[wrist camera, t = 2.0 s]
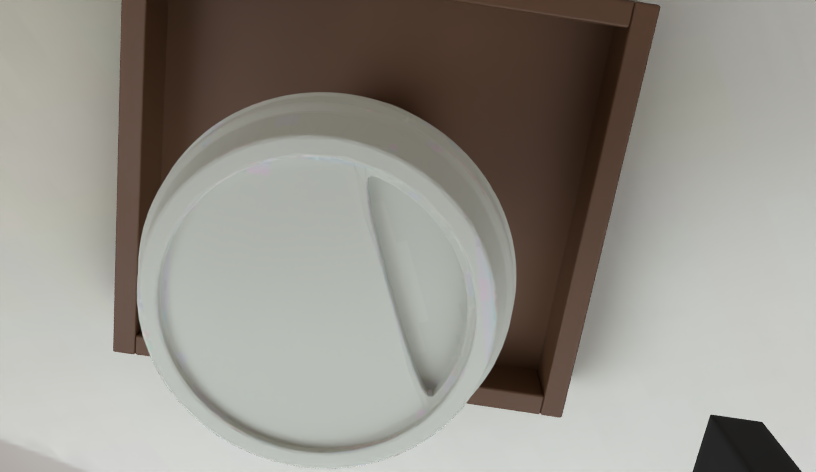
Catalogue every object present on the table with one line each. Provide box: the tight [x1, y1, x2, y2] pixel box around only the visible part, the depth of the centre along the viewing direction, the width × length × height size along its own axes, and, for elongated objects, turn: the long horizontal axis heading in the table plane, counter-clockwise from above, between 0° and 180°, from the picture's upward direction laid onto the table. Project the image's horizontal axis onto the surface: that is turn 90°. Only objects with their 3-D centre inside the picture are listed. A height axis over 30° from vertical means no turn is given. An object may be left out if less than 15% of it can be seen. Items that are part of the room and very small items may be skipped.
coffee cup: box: [137, 92, 516, 469], centre depth 21 cm, size 9×8×12 cm
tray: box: [113, 0, 660, 417], centre depth 26 cm, size 17×15×2 cm
